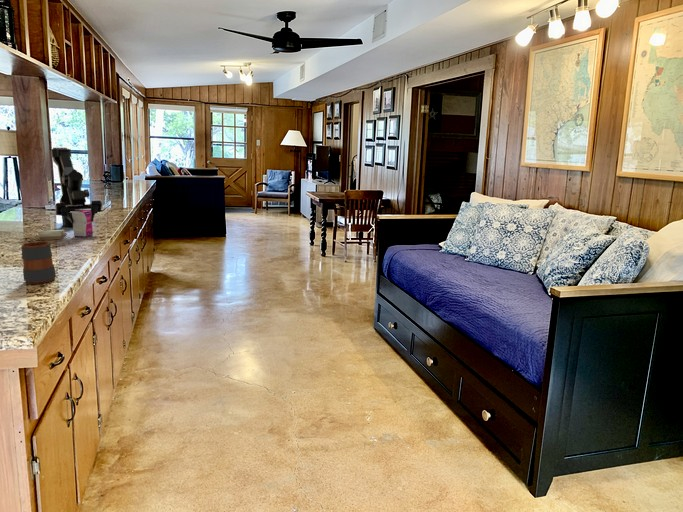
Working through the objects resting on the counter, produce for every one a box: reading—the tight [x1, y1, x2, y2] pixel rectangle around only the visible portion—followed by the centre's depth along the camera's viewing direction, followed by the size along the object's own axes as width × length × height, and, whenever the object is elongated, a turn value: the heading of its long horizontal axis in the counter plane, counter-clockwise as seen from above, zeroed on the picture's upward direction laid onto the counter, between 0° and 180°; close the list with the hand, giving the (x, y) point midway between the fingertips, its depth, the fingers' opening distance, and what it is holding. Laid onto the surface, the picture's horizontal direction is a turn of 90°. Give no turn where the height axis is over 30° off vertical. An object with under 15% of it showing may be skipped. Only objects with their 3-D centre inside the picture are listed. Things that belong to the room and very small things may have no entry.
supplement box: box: [71, 209, 94, 238], centre depth 235 cm, size 6×6×12 cm
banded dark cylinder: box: [20, 241, 57, 285], centre depth 162 cm, size 9×12×12 cm
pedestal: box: [38, 229, 68, 241], centre depth 231 cm, size 9×9×3 cm
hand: (82, 222), depth 234 cm, fingers closed on supplement box, 8 cm apart
